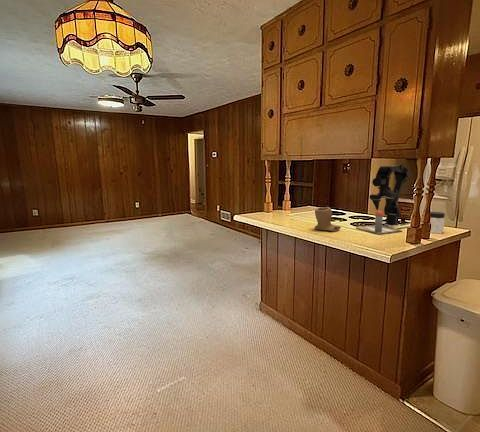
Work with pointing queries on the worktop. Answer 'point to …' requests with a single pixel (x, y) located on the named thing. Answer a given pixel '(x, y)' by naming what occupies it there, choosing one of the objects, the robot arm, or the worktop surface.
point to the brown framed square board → (384, 231)
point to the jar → (437, 222)
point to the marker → (378, 221)
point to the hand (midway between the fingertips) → (382, 209)
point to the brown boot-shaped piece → (325, 219)
